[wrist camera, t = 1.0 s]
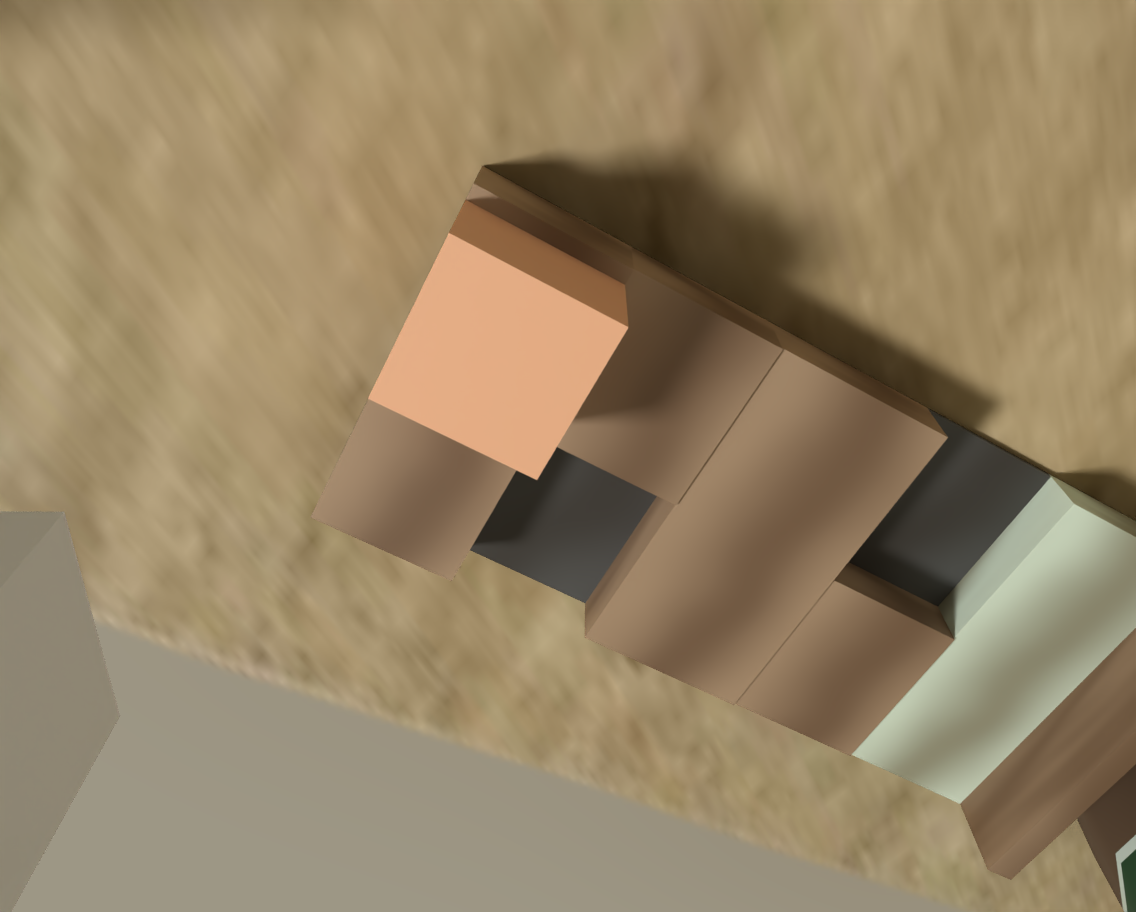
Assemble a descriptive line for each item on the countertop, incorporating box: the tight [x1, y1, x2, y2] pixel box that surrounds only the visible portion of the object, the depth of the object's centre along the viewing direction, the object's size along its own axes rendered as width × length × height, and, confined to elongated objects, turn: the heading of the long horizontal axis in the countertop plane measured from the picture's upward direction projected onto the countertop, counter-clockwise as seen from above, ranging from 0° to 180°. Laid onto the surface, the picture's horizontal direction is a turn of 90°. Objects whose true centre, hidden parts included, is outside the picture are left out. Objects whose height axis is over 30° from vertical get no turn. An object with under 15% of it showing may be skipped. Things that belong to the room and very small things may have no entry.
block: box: [368, 200, 628, 480], centre depth 27 cm, size 5×5×4 cm
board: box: [311, 166, 1136, 880], centre depth 32 cm, size 27×12×5 cm, turn 62°
